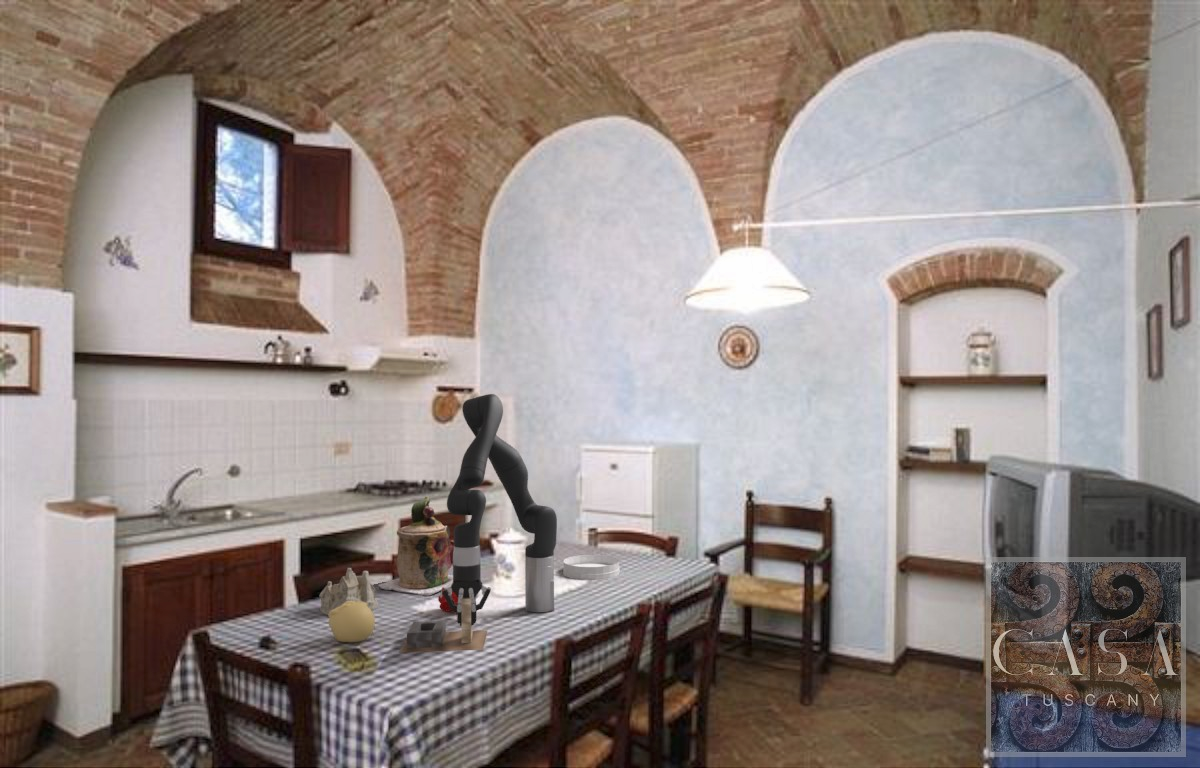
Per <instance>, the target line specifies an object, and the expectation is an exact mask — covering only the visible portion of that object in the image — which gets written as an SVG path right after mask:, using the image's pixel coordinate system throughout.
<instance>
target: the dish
mask: <svg viewBox="0 0 1200 768" xmlns="http://www.w3.org/2000/svg"><path fill="white" fill-rule="evenodd" d="M620 571H621V570H620V560H619V558H618V557H615V556H611V555H603V554H582V555H581V554H580V555H574V556H569V557H566V558H565V559H563V567H562V574H563V576H564V577H567V578H569V577H570V578H571V579H575V580H581V581H582V580H584V581H585V580H588V581H592V580H593V581H594V580H595V581H596V580H597V581H598V580H605V579H611V578H615V577H616V576H619V574H620Z"/></svg>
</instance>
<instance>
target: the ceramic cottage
mask: <svg viewBox="0 0 1200 768" xmlns="http://www.w3.org/2000/svg"><path fill="white" fill-rule="evenodd" d="M361 574H362V575H361V576H358V575H356V573H355V572H354V571H353V570H352V567H347V569H346V573H345V575H344V576H341V578H340V581H339V582H338V583H333V582H332V581H330V580H329V581H327V585H325V587H324V588H323V589H322V591H321V592H320V593H319V598H320V602H321V605H320V607H319V612H321V613H322V614H324V615H327V616H329V615H328V614H329V612H330V611H331V610H333V609H335V608H337V607H339V606H341V605H342V604H343V603H345V602H346V601H355V602H358V601H362V602H365V603H367V606H368V607H369V608H370V609H371V611H372V612H373V611H375V610H377V609H379V608H380V607H379V602H378V600H377V599H376V596H377V595H376V593H375V592H376V590H377V589H376V588H375V587H374V585H373V584H372V583H371V579H370V575H369V571H368V570H363V571H362V573H361Z"/></svg>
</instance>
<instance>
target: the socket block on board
mask: <svg viewBox="0 0 1200 768" xmlns="http://www.w3.org/2000/svg"><path fill="white" fill-rule="evenodd" d="M446 622H447V621H446V620H433V621H432V620H430V621H413V622H412V623H411V625H410V627H409V629H408V631H407V633H406V639H405V641H404V643H402V645H401V646H402V647H401V648H400V650H399V651H398V653H422V652H423V653H424V652H448V651H449V652H451V651H453V652H454V651H481V650H482V651H483V650H484V648H485V645H486V644H485V643H486V640H487V635H488V630H487V629H486V630H472V641H471V643H462V630H459V631H446V628H447V627H446V626H447V625H446V624H447V623H446Z"/></svg>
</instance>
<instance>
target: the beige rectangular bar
mask: <svg viewBox="0 0 1200 768" xmlns="http://www.w3.org/2000/svg"><path fill="white" fill-rule="evenodd" d="M461 608H462V626H461V631H462V643H471V641H472V631H473V625H471V611H472V610H471V598H462V599H461Z"/></svg>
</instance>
